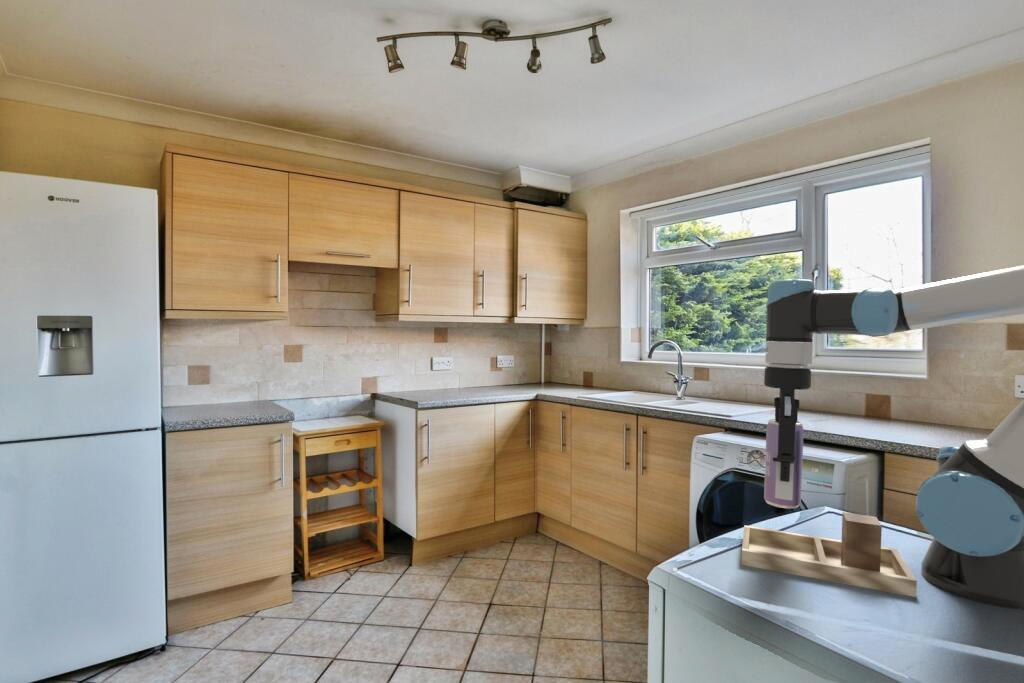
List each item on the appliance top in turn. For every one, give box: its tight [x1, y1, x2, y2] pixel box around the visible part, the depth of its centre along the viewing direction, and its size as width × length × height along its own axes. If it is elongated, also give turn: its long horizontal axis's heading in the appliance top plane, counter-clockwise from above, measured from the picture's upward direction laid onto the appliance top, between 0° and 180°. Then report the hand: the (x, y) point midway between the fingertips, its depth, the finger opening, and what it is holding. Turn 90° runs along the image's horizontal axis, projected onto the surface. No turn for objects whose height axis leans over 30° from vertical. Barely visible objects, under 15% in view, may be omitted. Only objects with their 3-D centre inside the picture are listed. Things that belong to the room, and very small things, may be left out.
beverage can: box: [763, 418, 805, 509], centre depth 98 cm, size 6×6×15 cm
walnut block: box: [841, 512, 883, 572], centre depth 93 cm, size 5×5×9 cm
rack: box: [741, 524, 918, 598], centre depth 96 cm, size 25×14×3 cm, turn 65°
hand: (783, 493), depth 98 cm, fingers closed on beverage can, 6 cm apart
